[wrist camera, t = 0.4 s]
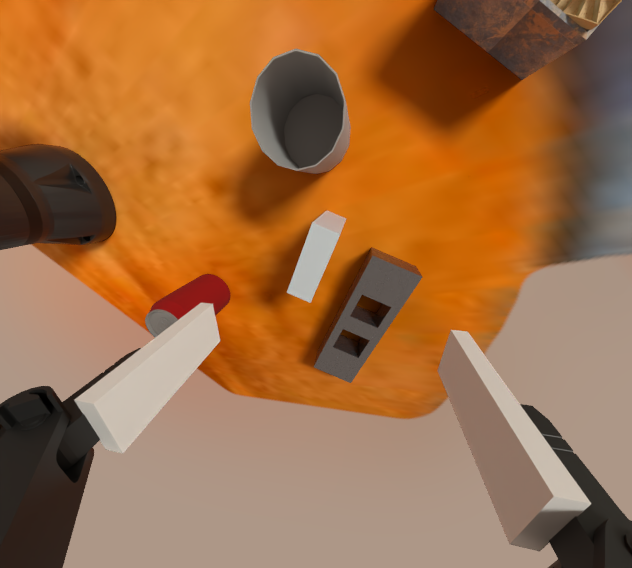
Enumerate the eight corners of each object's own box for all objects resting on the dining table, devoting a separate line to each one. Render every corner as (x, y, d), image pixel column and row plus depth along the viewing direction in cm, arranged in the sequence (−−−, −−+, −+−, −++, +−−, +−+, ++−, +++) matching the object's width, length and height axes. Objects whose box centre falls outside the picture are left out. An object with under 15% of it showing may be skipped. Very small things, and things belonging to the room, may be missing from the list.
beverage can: (195, 295, 42) (138, 334, 31) (202, 265, 39) (142, 297, 28) (227, 311, 42) (182, 355, 31) (237, 283, 39) (190, 321, 28)
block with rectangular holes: (317, 351, 42) (313, 367, 39) (371, 247, 32) (372, 255, 29) (351, 365, 42) (350, 382, 39) (415, 266, 32) (422, 276, 29)
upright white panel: (323, 270, 35) (310, 302, 26) (306, 263, 35) (286, 292, 26) (346, 218, 31) (340, 234, 22) (326, 210, 31) (312, 222, 22)
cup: (310, 187, 31) (289, 189, 22) (271, 131, 29) (231, 108, 20) (363, 142, 27) (365, 122, 18) (324, 75, 25) (304, 18, 16)
